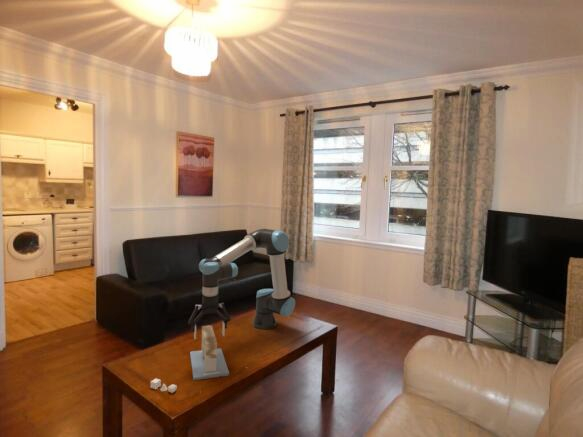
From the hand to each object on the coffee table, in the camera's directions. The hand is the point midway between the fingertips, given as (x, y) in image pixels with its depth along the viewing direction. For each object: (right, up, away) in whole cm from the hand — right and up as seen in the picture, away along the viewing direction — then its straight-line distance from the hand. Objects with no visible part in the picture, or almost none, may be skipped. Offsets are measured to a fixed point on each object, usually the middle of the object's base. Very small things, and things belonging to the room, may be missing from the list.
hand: (209, 336), depth 170 cm
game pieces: (-14, -16, -22) cm, 30 cm away
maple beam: (0, -6, 0) cm, 6 cm away
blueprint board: (-1, -14, +1) cm, 14 cm away
